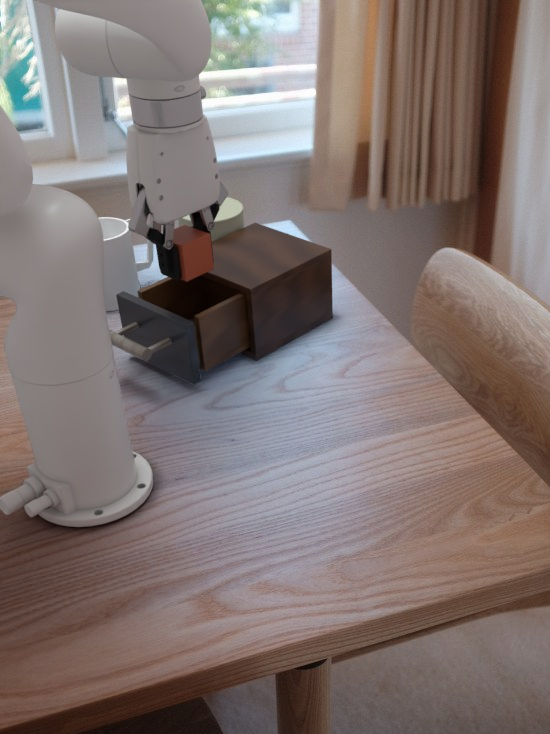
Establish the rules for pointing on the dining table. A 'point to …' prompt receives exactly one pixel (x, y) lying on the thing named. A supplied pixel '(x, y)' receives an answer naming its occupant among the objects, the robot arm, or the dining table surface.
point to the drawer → (183, 325)
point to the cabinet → (275, 283)
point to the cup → (120, 260)
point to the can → (223, 219)
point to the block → (193, 251)
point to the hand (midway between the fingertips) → (187, 267)
